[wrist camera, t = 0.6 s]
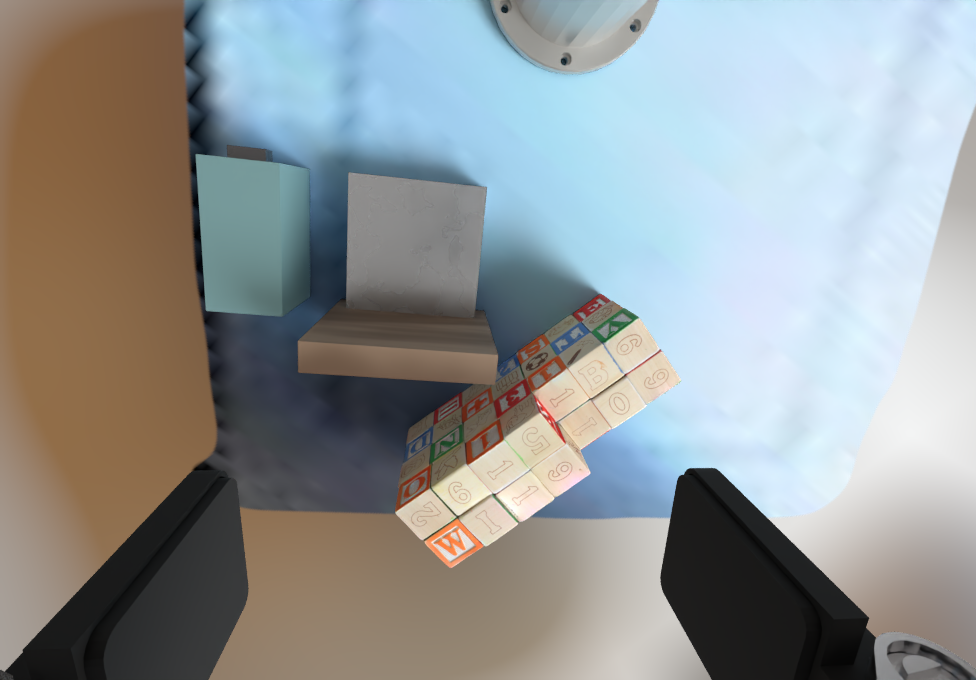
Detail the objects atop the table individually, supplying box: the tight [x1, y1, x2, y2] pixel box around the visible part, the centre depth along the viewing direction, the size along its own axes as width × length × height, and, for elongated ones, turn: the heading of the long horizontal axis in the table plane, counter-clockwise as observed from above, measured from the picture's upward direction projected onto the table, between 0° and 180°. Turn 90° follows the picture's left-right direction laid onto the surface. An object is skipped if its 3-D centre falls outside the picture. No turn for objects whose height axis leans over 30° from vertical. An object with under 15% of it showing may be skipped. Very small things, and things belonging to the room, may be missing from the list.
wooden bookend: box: [298, 172, 498, 385], centre depth 33 cm, size 12×12×12 cm
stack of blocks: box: [395, 294, 681, 568], centre depth 38 cm, size 21×6×12 cm, turn 126°
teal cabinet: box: [196, 145, 310, 317], centre depth 34 cm, size 11×5×7 cm, turn 173°
